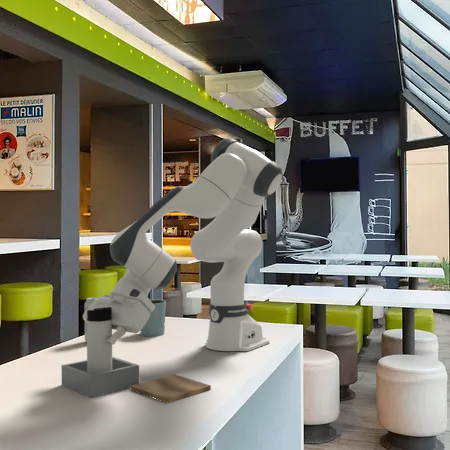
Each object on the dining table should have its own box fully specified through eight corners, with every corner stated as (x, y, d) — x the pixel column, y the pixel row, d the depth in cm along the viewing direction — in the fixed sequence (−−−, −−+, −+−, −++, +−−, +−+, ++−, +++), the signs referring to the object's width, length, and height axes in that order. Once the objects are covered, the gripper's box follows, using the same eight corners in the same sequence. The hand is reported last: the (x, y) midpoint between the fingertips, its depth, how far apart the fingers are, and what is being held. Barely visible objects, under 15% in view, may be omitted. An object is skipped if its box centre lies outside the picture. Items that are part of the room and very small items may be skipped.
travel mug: (101, 390, 136) (100, 309, 136) (82, 385, 140) (81, 307, 139) (118, 383, 142) (118, 305, 141) (99, 379, 145) (99, 303, 145)
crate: (108, 373, 151) (108, 355, 150) (139, 384, 141) (139, 365, 141) (61, 384, 141) (61, 365, 141) (90, 397, 131) (90, 376, 131)
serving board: (174, 378, 146) (174, 374, 146) (210, 389, 136) (210, 385, 136) (130, 389, 136) (130, 385, 136) (166, 403, 126) (166, 398, 126)
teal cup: (171, 333, 204) (171, 300, 204) (154, 338, 195) (153, 304, 195) (150, 330, 209) (150, 298, 209) (132, 334, 201) (132, 302, 200)
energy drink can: (105, 340, 192) (104, 297, 192) (99, 344, 186) (99, 299, 186) (88, 339, 193) (88, 297, 193) (82, 343, 187) (81, 299, 187)
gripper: (95, 287, 152) (66, 328, 145) (147, 293, 140) (117, 338, 132) (108, 301, 156) (80, 342, 148) (160, 308, 143) (132, 353, 136)
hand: (98, 340), depth 140 cm, fingers open, 7 cm apart
